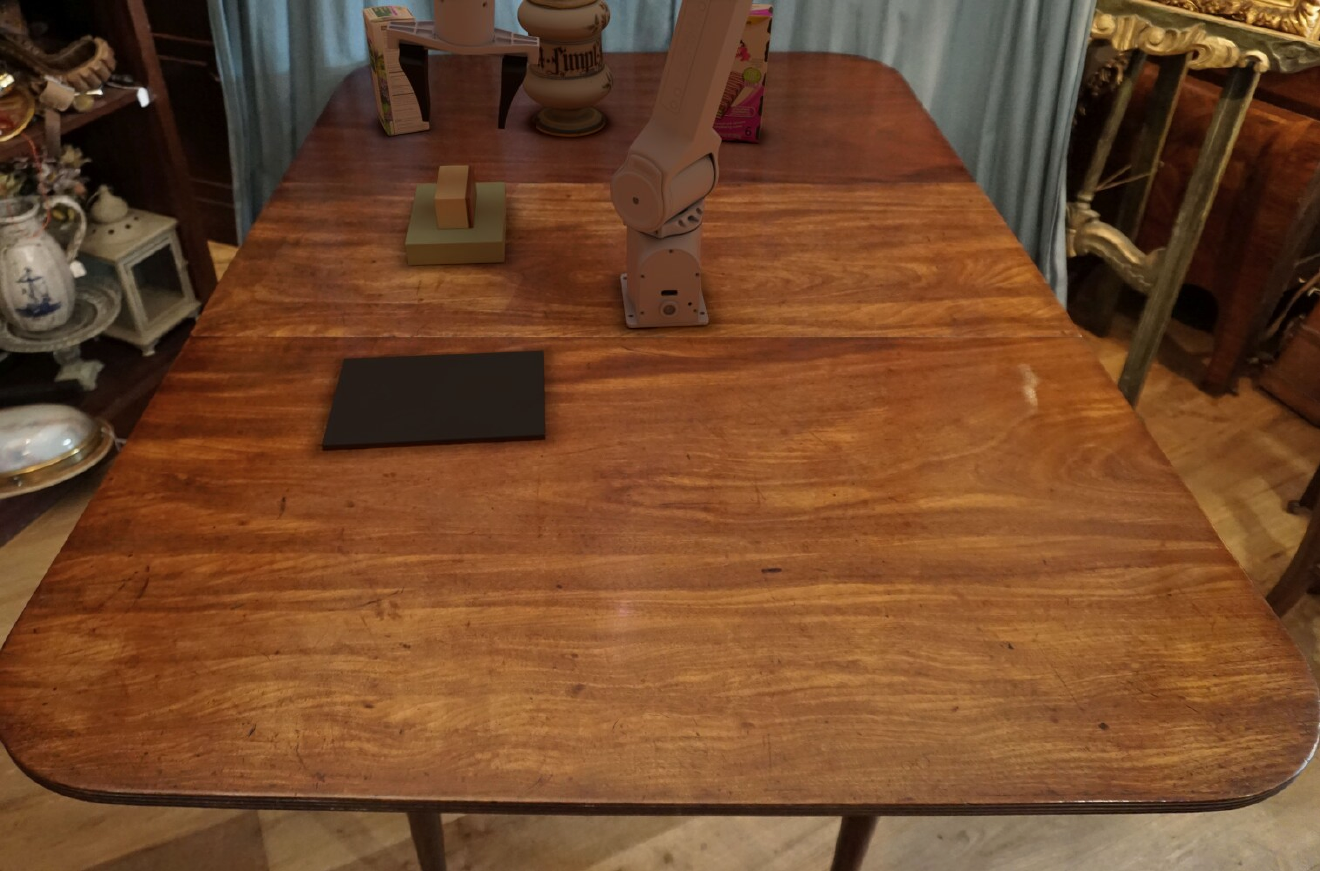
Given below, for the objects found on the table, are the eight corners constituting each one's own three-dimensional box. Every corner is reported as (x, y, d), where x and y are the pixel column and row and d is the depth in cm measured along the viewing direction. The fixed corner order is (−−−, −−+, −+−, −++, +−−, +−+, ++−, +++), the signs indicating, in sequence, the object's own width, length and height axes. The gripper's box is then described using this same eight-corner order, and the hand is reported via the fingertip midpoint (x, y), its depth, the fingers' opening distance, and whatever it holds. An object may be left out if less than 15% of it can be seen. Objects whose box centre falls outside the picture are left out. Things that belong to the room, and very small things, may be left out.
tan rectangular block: (473, 228, 99) (470, 197, 97) (438, 229, 99) (433, 198, 97) (476, 194, 105) (473, 164, 103) (443, 194, 105) (439, 165, 103)
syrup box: (378, 120, 126) (358, 7, 117) (421, 114, 128) (405, 2, 119) (387, 136, 123) (368, 21, 113) (432, 130, 125) (416, 15, 115)
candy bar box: (676, 139, 124) (681, 9, 113) (679, 124, 128) (684, -3, 117) (760, 144, 124) (773, 14, 113) (761, 129, 127) (773, 2, 117)
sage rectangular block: (504, 262, 99) (502, 241, 97) (408, 265, 98) (404, 244, 96) (506, 201, 110) (505, 181, 108) (420, 203, 109) (417, 183, 107)
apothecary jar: (514, 112, 130) (502, -28, 118) (595, 100, 134) (592, -36, 122) (540, 146, 122) (531, -1, 110) (626, 133, 125) (626, -11, 114)
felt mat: (545, 438, 78) (544, 434, 77) (322, 450, 76) (321, 445, 76) (543, 354, 87) (543, 350, 86) (344, 362, 85) (343, 358, 85)
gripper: (542, -21, 92) (534, 109, 101) (389, -40, 89) (396, 95, 99) (542, 9, 87) (534, 142, 97) (380, -10, 84) (389, 128, 94)
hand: (464, 120), depth 97 cm, fingers open, 7 cm apart
